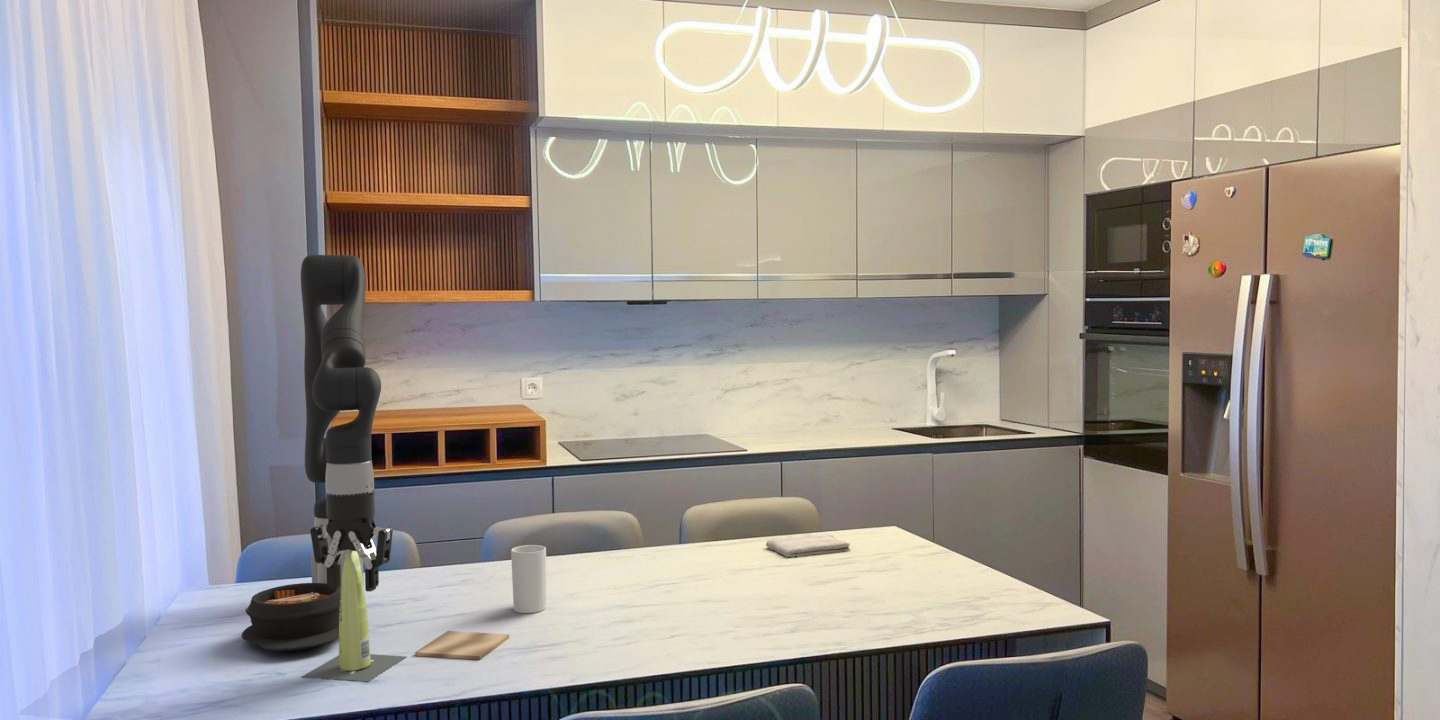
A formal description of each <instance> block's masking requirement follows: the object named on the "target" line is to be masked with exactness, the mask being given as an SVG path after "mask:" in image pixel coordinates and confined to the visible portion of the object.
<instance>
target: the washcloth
mask: <svg viewBox="0 0 1440 720" xmlns="http://www.w3.org/2000/svg"><path fill="white" fill-rule="evenodd" d="M765 546H766V548H767V549H768V550H771V551H773V550H774V551H773V552H776V551H777V552H776V553H778V552H779V553H780V554H779V553H778V554H779V555H781V554H782V555H781V556H783V555H784V557H785V556H786V558H788V557H791V558H796V557H795V556H800V557H805V556H804V555H809V556H813V555H812V554H817V555H824V554H823V553H826V554H832V553H831V552H835V553H842V551H844V552H850V551H851V549H850V542H849V541H846V540H842V539H839V538H837V537H835V536H834V535H831V534H828V533H823V534H812V533H805V534H802V535H791V536H790V535H789V536H788V535H787V536H783V537H778V538H777V537H776V538H775V537H774V538H770V539H769V540H767V541H766V543H765Z"/></svg>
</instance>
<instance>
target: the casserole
mask: <svg viewBox="0 0 1440 720" xmlns="http://www.w3.org/2000/svg"><path fill="white" fill-rule="evenodd" d="M340 593H341V589H340V588H337V589H335V590H332V589H330V587H329V586H328V584H326V583H312V582H300V583H293V584H285V585H281V586H276V587H272V588H268V589H265V590H262V591H259V592H257V593H256V594H254V595H253V596H252V597H251V599H250V603H249V605H248V606H247V607H246V608H245V614H247V616H248V617H249V619H250V622H251V623H250V624H251V625H250V626H248V627H247V628H245V629H244V630H243V632H241V635H240V637H241V639H243V640H244V641H245V642H248V643H251V644H253V645H257V646H259V647H260V648H262V649H265V650H266V651H271V652H277V651H278V652H281V651H282V652H283V651H285V652H286V651H294V650H296V651H297V650H303V649H308V648H309V649H310V648H314V647H319V646H324V645H327V644H330V643H333V642H335V641H336V640H339V612H340Z"/></svg>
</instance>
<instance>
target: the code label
mask: <svg viewBox="0 0 1440 720" xmlns="http://www.w3.org/2000/svg"><path fill="white" fill-rule="evenodd" d="M370 658H371V663H370V665H369V666H367V667H365V668H363V669H359V670H353V671H346V670H342V669H340V667H339V654H338V655H337V656H335V657H333V658H332V659H331V658H330V660H328V661H326V662H324V663H323V664H321V665H319V666H318V667H316V668H314V669H312V670H310V671H309V672H307V673H304V675H302V676H301V677H300V678H303V679H315V678H321V679H320V680H329V679H335V680H334V681H343V680H347V681H348V682H357V681H362V682H361V683H370V682H372V681H373V680H374V679H376V678H377V677H379V676H381V675H382V674H384V673H385V672H387V671H388V670H390V669H391V668H393V667H395V665H398V664H399V663H400V662H402V661H403V660H405V659H408V656H404V655H389V654H388V655H387V654H374V653H373V654H372V653H370ZM392 666H393V667H392ZM389 668H390V669H389ZM386 670H387V671H386ZM383 672H384V673H383ZM380 674H381V675H380ZM378 675H379V676H378ZM375 677H376V678H375ZM347 681H346V682H347Z"/></svg>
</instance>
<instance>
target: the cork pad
mask: <svg viewBox="0 0 1440 720" xmlns="http://www.w3.org/2000/svg"><path fill="white" fill-rule="evenodd" d="M509 637H511V636H510V634H509V633H494V632H492V633H491V632H477V631H476V632H474V631H463V630H462V631H459V630H447V631H445V632H443V634H442V633H441V635H439V636H438V637H436V638H435V639H432V641H430V642H428V643H427V644H426V645H424V646H422V647H421V648H419V649H418V650H416V651H414V656H416V657H417V656H419V657H435V658H447V659H448V658H449V659H464V660H465V659H466V660H477V661H478V660H479V661H480V660H481V659H482V660H483V658H484V657H486V656H487V655H489V654H490V653H491V652H493V651H494V650H495V649H497V647H499V646H500V645H502V644H503V643H504V642H505V640H506V641H507V640H508V639H510V638H509ZM493 649H494V650H493Z"/></svg>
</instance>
